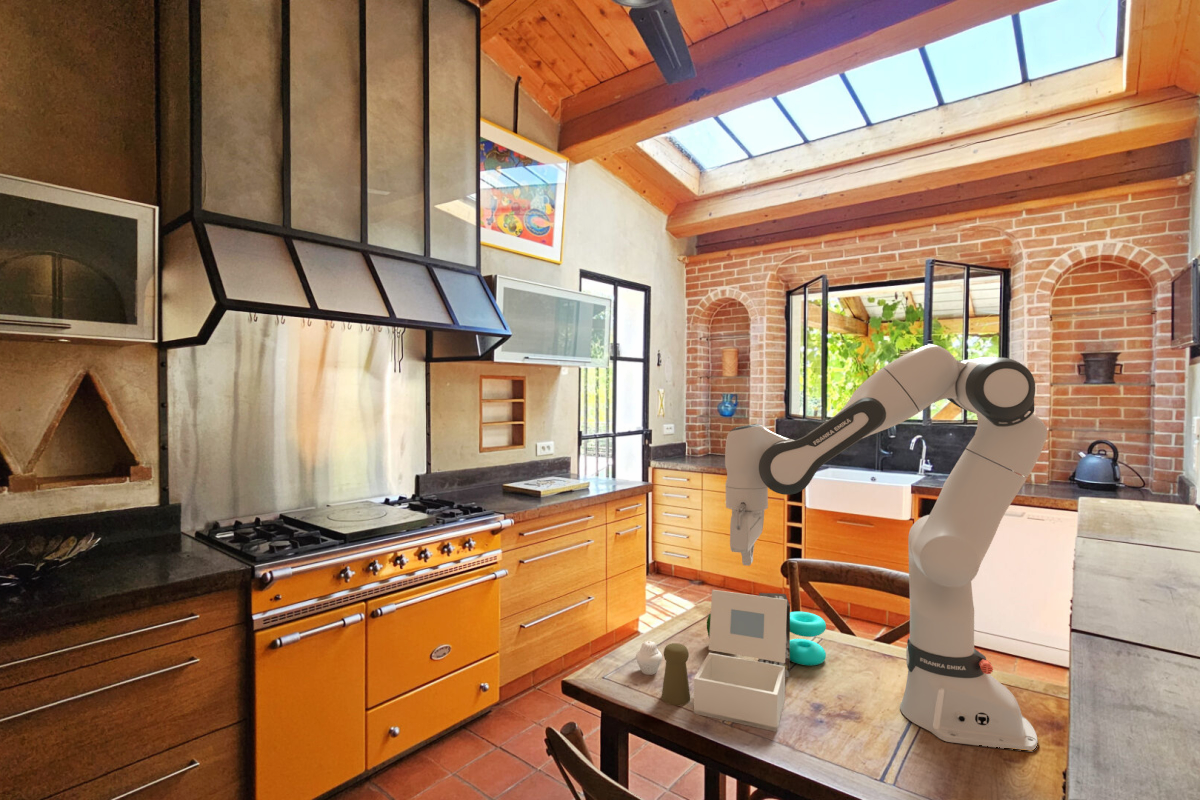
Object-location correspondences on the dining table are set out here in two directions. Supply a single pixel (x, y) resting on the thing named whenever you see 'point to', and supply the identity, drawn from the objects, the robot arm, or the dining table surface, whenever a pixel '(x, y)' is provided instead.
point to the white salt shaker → (649, 658)
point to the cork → (676, 675)
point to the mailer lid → (748, 625)
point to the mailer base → (740, 691)
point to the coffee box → (787, 652)
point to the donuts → (803, 648)
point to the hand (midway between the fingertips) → (747, 563)
